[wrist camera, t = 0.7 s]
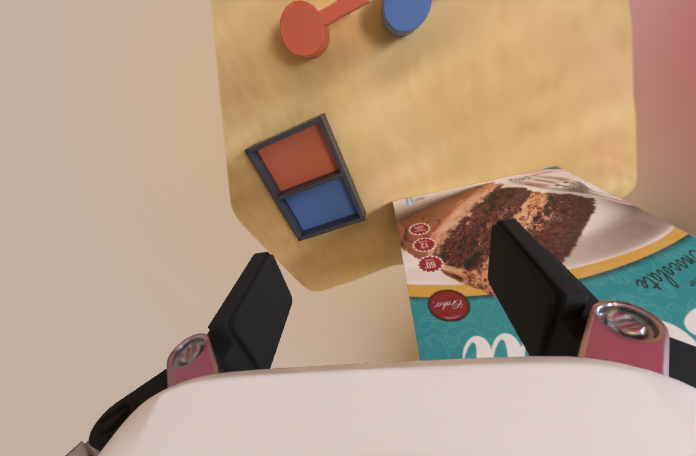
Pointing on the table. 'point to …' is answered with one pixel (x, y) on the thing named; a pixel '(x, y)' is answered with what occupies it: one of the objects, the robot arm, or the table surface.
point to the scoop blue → (404, 15)
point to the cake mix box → (553, 234)
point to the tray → (308, 178)
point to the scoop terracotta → (312, 25)
